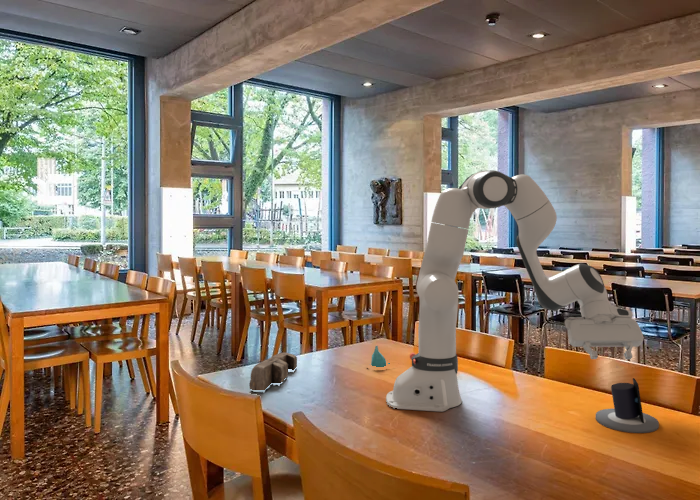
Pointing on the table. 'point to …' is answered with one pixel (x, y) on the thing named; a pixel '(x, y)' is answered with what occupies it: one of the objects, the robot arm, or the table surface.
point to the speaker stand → (627, 422)
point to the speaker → (627, 400)
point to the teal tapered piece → (378, 359)
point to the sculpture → (272, 370)
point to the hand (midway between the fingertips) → (611, 358)
